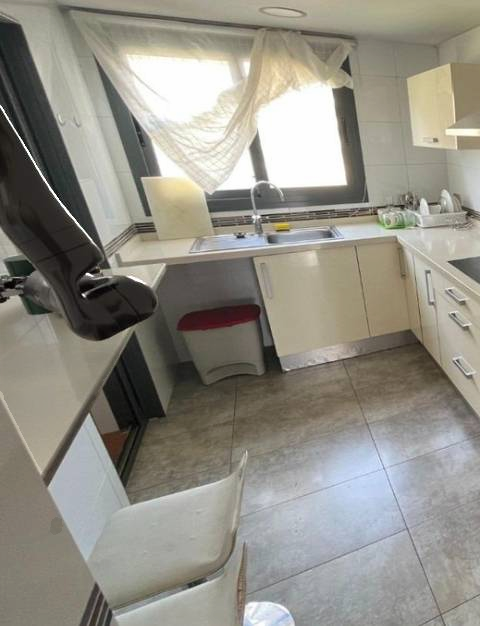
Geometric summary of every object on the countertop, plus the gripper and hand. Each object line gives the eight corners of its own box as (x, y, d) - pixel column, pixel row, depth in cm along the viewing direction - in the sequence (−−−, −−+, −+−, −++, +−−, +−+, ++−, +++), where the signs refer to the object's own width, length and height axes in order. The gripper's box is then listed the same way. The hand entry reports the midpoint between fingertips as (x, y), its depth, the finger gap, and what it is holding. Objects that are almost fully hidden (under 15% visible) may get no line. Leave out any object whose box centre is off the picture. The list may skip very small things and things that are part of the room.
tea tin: (25, 317, 81) (-1, 262, 77) (29, 309, 84) (5, 256, 81) (68, 310, 84) (45, 257, 80) (70, 302, 88) (49, 251, 84)
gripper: (114, 258, 80) (74, 247, 88) (-7, 281, 68) (-42, 266, 76) (129, 299, 83) (88, 285, 90) (15, 327, 71) (-21, 308, 79)
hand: (29, 276), depth 83 cm, fingers closed on tea tin, 5 cm apart
